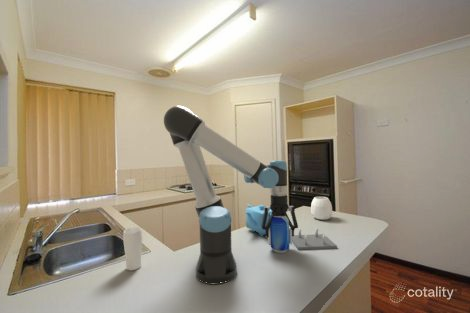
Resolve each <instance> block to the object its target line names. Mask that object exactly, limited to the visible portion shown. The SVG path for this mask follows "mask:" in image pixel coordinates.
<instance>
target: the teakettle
mask: <svg viewBox="0 0 470 313" xmlns="http://www.w3.org/2000/svg"><path fill="white" fill-rule="evenodd" d="M246 206H247V208H245V211H244V212H243V214H245V221H246V222H245V223H246V224H245V228H247V229H250V232H251V231H252V232H251V233H256V232H257V233H258V236H259V235H262V236H261V237H264V236H265V230H264V229H262V227H261V225H262V220H263V216H264V207H265V205H264V204H259V205H257V206H252V205H251V204H249V203H247V204H246ZM271 213H272V210H271V209H270V210H269V212H268V215H267V220H266V225H267V222H268V220H269V218H270V216H271ZM266 225H265V226H266ZM269 229H270V228H269ZM255 231H256V232H255ZM263 235H264V236H263Z"/></svg>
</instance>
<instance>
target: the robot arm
mask: <svg viewBox="0 0 470 313" xmlns="http://www.w3.org/2000/svg"><path fill="white" fill-rule="evenodd" d="M163 116H164V117H163V125H164V128H165V130H166V131H167V132H168V133H169V135H170V139H171V141H172V144H173V146H174V147H175V148H177V149H178V150H179V153H180V156H181V159H182V161H183V164H184V165H183V166H184V168H185V170H186V174H187V176H188V178H189V183H190V185H191V188H192V191H193V194H194V196H195V200H196V202H195V205H194V208H195V211H196V215H197V217H198V223H199V250H200V252H199V257H198V260H197V263H196V267H195V277H196V276H197V277H196V279H197V278H198V279H199V280H198V279H197V280H198V281H200V280H201V281H203V282H207V283H220V282H225V281H228V280H230V279H232V278H233V277H234V276H235V275H236V276H237V272H238V271H237V270H238V268H237V262H236V260H235V258H234V255H233V252H232V251H233V250H232V215H231V211H230V210H229V209H228V208H227V207H224V203H223V201H222V198H221V196H219V195H217V193H216V191H215V188H214V185H213V182H212V179H211V176H210V172H209V170H208V167H207V164H206V161H205V158H204V155H203V152H202V149H201V148H203V149H204V150H205V151H207V152H208V153H210V154H212V155H213V156H214V157H217V159H220V160H221V161H222V162H224V163H226V164H227V165H229V166H230V167H232V168H233V169H235V170H236V171H238V172H240V174H242V175H243V179H244V183H246V184H248V183H249V184H253V183H254V184H258V185H259V186H261V187H262V188H264V189H270V205H269V206H265V205H264V206H265V207H264V216H263V220H262V225H261V227H262V229H264V230H265V234H264V236H265V237H266V238H267V244H268V246H271V236H270V229H269V228H270V226H271V220H272V218H273V217H274V216H278V215H284V216H286V217H287V218H288V220H289V246H290V245H293V242H292V236H294V235H295V229H299V224H298V220H297V217H296V212H295V210H296V207H295V206H294V205H289V204H288V195H287V194H288V165H287V161H285V160H280V159H279V160H270V161H269V164H268V165H266V164H264V163H263V162H261V161H259V160H258V159H257V158H256V157H254V156H253V155H251V154H249V153H248V152H246V151H245V150H243V149H242V148H241V147H239V146H237V145H236V144H234V143H233V142H232V141H230V140H228V139H227V138H225V137H224V136H222V135H221V134H219V133H218V132H216V131H215V130H213V129H212V128H210V127H209V126H208V125H206V123H205V120H203V119H202V118H201V117H199V116H198V115H196V114H195V113H194V112H193V111H192V110H191V109H189V108H187V107H185V106H182V105H174V106H172V107H170V108H169V109H168V110H167V111H165V113H164V115H163ZM270 209H271V210H272V213H271V216H270V218H269V220H268V222H267V225H266V220H267V215H268V212H269V210H270ZM288 211H289V212H290V216H291V219H290V217H289V215H288V214H287V212H288ZM291 220H292V222H291ZM265 225H266V226H265ZM236 276H235V277H236ZM235 277H234V278H235ZM234 278H233V279H234ZM233 279H232V280H233ZM201 281H200V282H201ZM230 281H231V280H230ZM203 282H202V283H203ZM228 282H229V281H228ZM225 283H226V282H225Z"/></svg>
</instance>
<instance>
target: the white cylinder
mask: <svg viewBox="0 0 470 313" xmlns="http://www.w3.org/2000/svg"><path fill="white" fill-rule="evenodd" d="M122 240H123V249H124V257H125V263H126V264H125V266H126V270H127V271H136V270H138V269H139V268H141V266H142V250H143V229H142V228H141V227H136V226H135V227H129V228H127V229H125V230H123V235H122Z"/></svg>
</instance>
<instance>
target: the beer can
mask: <svg viewBox="0 0 470 313" xmlns="http://www.w3.org/2000/svg"><path fill="white" fill-rule="evenodd" d="M289 228H290V226H289V220H288V218H287V217H286V216H284V215H278V216H274V217H273V218H272V220H271V226H270V236H271V245H270V248H271V249H272V251H273V252H274V253H279V254H284V253H287V252H288V250H289V249H290V243H289Z"/></svg>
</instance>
